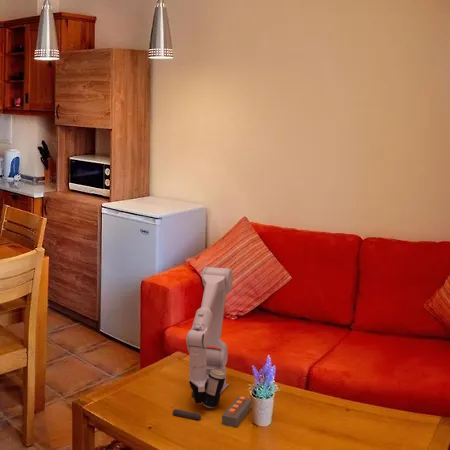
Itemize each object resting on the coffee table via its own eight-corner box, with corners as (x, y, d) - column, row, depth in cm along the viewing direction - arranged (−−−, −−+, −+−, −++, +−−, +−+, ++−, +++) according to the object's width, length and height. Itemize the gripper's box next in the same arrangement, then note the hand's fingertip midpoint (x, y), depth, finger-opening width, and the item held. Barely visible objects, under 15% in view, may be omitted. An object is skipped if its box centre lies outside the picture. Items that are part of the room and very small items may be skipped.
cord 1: (174, 413, 203) (174, 407, 203) (201, 418, 199) (201, 413, 199) (171, 415, 201) (171, 410, 201) (199, 421, 198) (199, 415, 197)
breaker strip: (237, 404, 208) (238, 393, 208) (251, 407, 206) (251, 395, 206) (221, 424, 196) (221, 412, 195) (236, 427, 194) (236, 415, 193)
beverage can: (218, 410, 204) (227, 376, 203) (202, 407, 203) (211, 373, 202) (215, 402, 210) (224, 370, 208) (199, 400, 209) (208, 367, 207)
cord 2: (192, 394, 216) (192, 389, 215) (218, 400, 212) (218, 394, 212) (190, 397, 214) (190, 392, 214) (216, 402, 210) (216, 397, 210)
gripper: (213, 372, 197) (214, 411, 200) (206, 354, 211) (206, 391, 214) (192, 374, 196) (192, 413, 198) (185, 356, 210) (186, 393, 212)
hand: (198, 402), depth 206 cm, fingers closed, pressing on beverage can
